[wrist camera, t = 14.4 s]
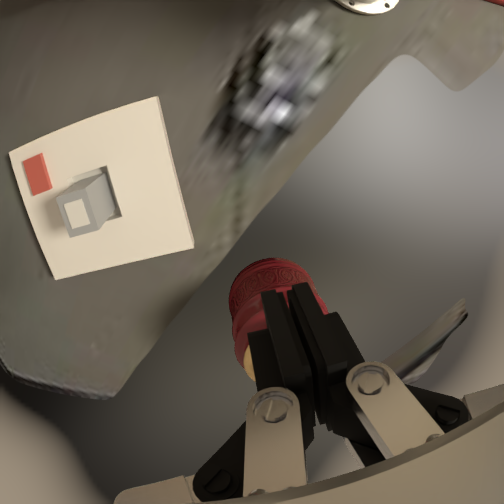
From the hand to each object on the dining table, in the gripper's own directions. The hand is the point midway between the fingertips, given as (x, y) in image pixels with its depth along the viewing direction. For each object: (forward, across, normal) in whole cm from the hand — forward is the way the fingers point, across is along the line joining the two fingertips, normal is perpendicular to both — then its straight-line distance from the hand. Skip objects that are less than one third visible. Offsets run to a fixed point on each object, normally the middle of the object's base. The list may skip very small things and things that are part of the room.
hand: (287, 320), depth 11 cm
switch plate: (+32, +18, 0) cm, 37 cm away
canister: (+32, -2, +21) cm, 39 cm away
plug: (+32, +18, 0) cm, 36 cm away
